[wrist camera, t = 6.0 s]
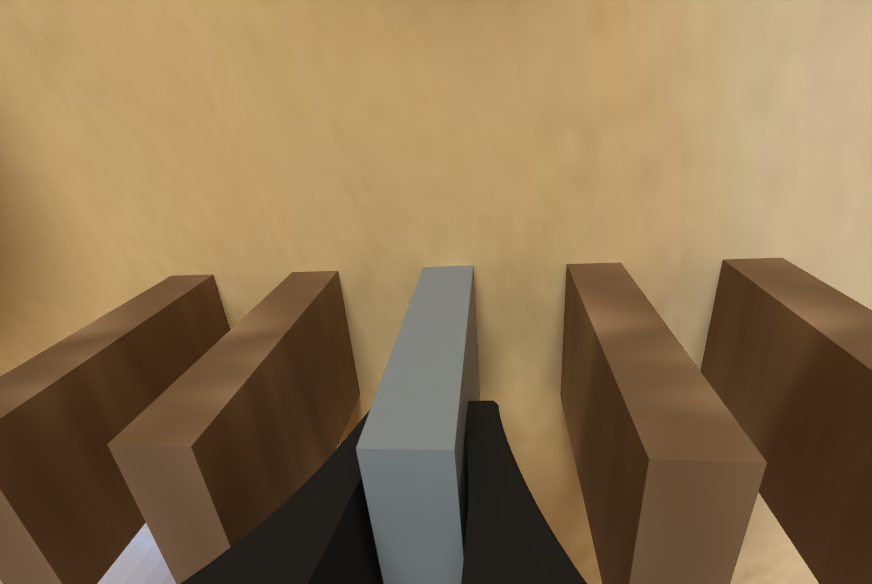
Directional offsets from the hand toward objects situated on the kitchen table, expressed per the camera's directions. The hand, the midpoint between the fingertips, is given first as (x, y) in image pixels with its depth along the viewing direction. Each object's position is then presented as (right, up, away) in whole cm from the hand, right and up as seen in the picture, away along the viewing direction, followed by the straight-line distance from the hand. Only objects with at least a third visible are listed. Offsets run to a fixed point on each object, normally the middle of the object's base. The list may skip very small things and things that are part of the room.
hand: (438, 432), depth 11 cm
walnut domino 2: (-4, +2, +5) cm, 7 cm away
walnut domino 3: (+5, +2, +4) cm, 7 cm away
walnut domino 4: (+9, +2, +3) cm, 10 cm away
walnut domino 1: (-8, +2, +6) cm, 10 cm away
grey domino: (+1, +2, +4) cm, 5 cm away
